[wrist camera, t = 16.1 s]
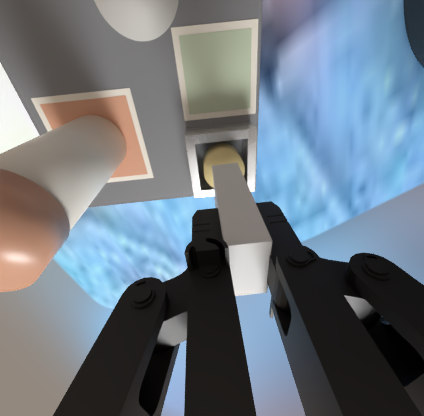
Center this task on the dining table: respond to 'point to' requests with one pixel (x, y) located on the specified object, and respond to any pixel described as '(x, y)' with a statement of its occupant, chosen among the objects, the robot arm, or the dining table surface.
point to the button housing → (218, 134)
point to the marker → (51, 192)
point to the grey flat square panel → (137, 77)
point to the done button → (220, 159)
